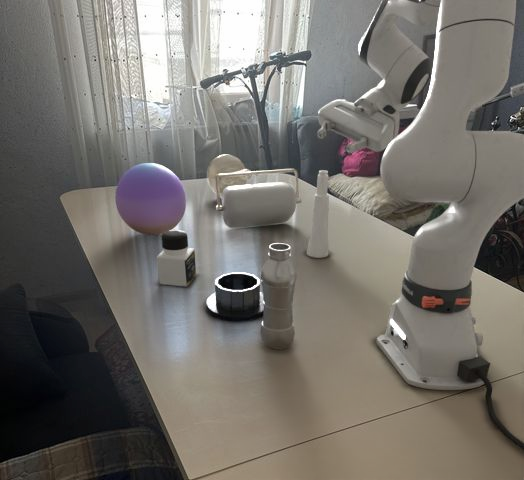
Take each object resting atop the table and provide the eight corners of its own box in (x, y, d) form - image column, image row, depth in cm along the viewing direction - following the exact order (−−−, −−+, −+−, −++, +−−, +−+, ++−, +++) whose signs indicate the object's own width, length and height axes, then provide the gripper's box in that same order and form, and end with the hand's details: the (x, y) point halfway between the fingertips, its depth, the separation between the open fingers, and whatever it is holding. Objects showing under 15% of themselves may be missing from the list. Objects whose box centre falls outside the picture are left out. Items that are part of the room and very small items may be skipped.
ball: (116, 226, 158) (107, 158, 147) (181, 220, 164) (175, 154, 153) (124, 249, 142) (114, 175, 131) (195, 241, 148) (190, 169, 137)
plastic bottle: (283, 356, 96) (287, 256, 86) (253, 346, 99) (253, 248, 89) (300, 341, 101) (305, 245, 90) (270, 332, 104) (272, 237, 93)
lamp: (194, 224, 185) (223, 232, 149) (186, 157, 178) (214, 148, 141) (264, 216, 193) (307, 222, 156) (259, 152, 185) (304, 143, 149)
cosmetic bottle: (331, 251, 142) (338, 169, 130) (325, 259, 137) (331, 174, 125) (310, 248, 143) (315, 167, 132) (303, 256, 139) (308, 172, 127)
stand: (270, 321, 108) (271, 296, 105) (204, 321, 108) (202, 296, 104) (268, 292, 120) (269, 268, 116) (208, 292, 119) (207, 268, 116)
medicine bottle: (187, 287, 122) (183, 238, 115) (158, 284, 123) (153, 236, 116) (196, 275, 128) (193, 228, 121) (169, 272, 129) (164, 226, 122)
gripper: (339, 86, 130) (301, 115, 126) (405, 115, 120) (366, 147, 117) (339, 109, 135) (303, 137, 132) (402, 138, 126) (365, 169, 122)
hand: (333, 142), depth 124 cm, fingers open, 8 cm apart
